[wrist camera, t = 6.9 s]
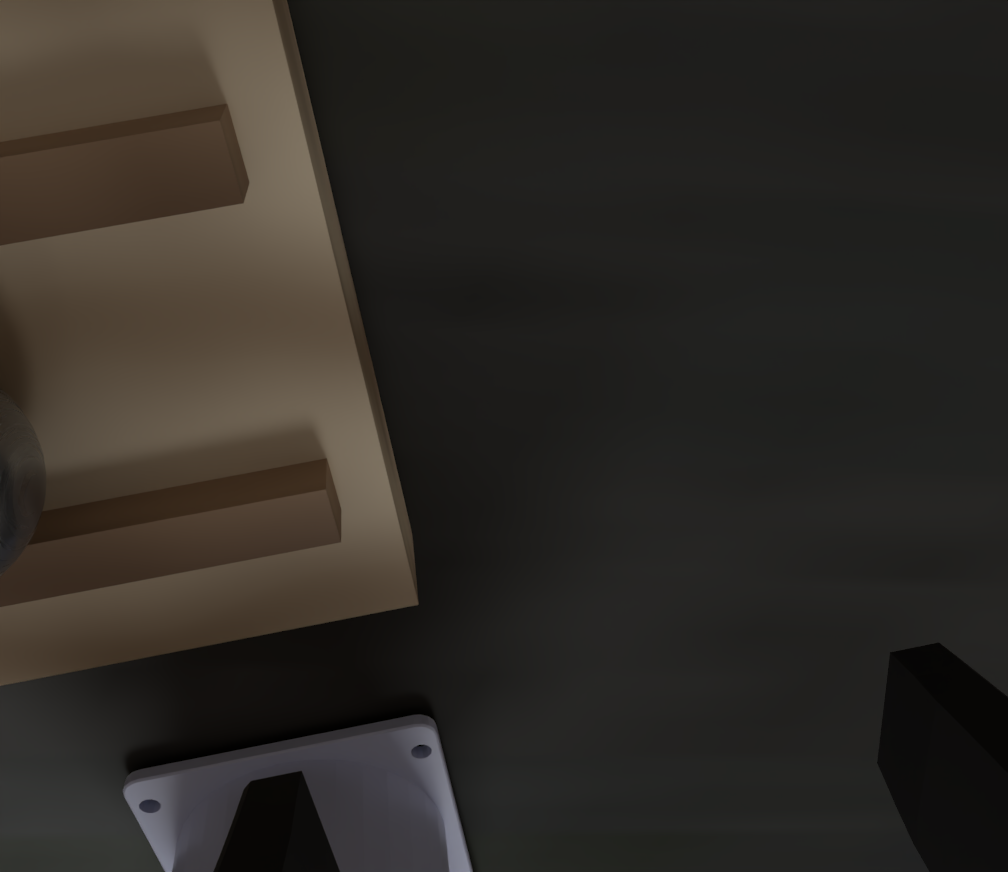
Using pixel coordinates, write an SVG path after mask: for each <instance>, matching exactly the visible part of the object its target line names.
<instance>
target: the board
mask: <svg viewBox="0 0 1008 872" xmlns="http://www.w3.org/2000/svg"><path fill="white" fill-rule="evenodd" d="M0 388H1V389H2V390H3V391H4V392H6V393H7V394H8V395H9V396H10V397H11V399H12V400H13V401H14V402H15V403H16V404H17V405H18V406H19V407H20V408H21V410H22V411H23V413H24V414H25V416H26V417H27V419H28V420H29V422H30V423H31V425H32V426H33V429H34V431H35V433H36V435H37V438H38V440H39V443H40V445H41V448H42V452H43V456H44V461H45V469H46V495H45V502H44V506H43V510H42V514H41V516H40V519H39V522H38V525H37V527H36V530H35V532H34V534H33V536H32V538H31V540H30V541H29V543H28V544H27V546H26V547H25V549H24V550H23V552H22V553H21V555H20V556H19V557H18V559H17V560H16V561H15V562H14V563H13V564H12V565H11V566H10V567H9V568H8V569H7V570H6V571H5V572H4V573H3V574H2V575H1V576H0V686H2V685H7V684H12V683H18V682H23V681H28V680H33V679H38V678H43V677H48V676H54V675H59V674H64V673H69V672H74V671H79V670H85V669H90V668H95V667H100V666H105V665H110V664H115V663H121V662H126V661H131V660H136V659H141V658H146V657H152V656H157V655H162V654H167V653H172V652H177V651H182V650H188V649H193V648H198V647H203V646H208V645H213V644H219V643H224V642H229V641H234V640H239V639H244V638H250V637H255V636H260V635H265V634H270V633H275V632H280V631H286V630H291V629H296V628H301V627H306V626H311V625H317V624H322V623H327V622H332V621H337V620H342V619H347V618H353V617H358V616H363V615H368V614H373V613H378V612H384V611H389V610H394V609H399V608H404V607H409V606H414V605H419V603H418V592H417V581H416V570H415V559H414V548H413V537H412V531H411V526H410V522H409V518H408V514H407V509H406V505H405V501H404V497H403V492H402V488H401V484H400V480H399V475H398V471H397V467H396V463H395V458H394V454H393V450H392V446H391V441H390V437H389V433H388V429H387V424H386V420H385V416H384V412H383V407H382V403H381V399H380V395H379V390H378V386H377V382H376V377H375V373H374V369H373V365H372V360H371V356H370V352H369V348H368V343H367V339H366V335H365V331H364V326H363V322H362V318H361V314H360V309H359V305H358V301H357V297H356V292H355V288H354V284H353V280H352V275H351V271H350V267H349V263H348V258H347V254H346V250H345V246H344V241H343V237H342V233H341V229H340V224H339V220H338V216H337V211H336V207H335V203H334V199H333V194H332V190H331V186H330V182H329V177H328V173H327V169H326V165H325V160H324V156H323V152H322V148H321V143H320V139H319V135H318V131H317V126H316V122H315V118H314V114H313V109H312V105H311V101H310V97H309V92H308V88H307V84H306V80H305V75H304V71H303V67H302V62H301V58H300V54H299V50H298V45H297V41H296V37H295V33H294V28H293V24H292V20H291V16H290V11H289V7H288V3H287V0H0Z"/></svg>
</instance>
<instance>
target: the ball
mask: <svg viewBox="0 0 1008 872" xmlns="http://www.w3.org/2000/svg"><path fill="white" fill-rule="evenodd" d="M45 495H46V469H45V461H44V456H43V452H42V448H41V445H40V443H39V440H38V438H37V435H36V433H35V431H34V429H33V426H32V425H31V423H30V422H29V420H28V419H27V417H26V416H25V414H24V413H23V411H22V410H21V408H20V407H19V406H18V405H17V404H16V403H15V402H14V401H13V400H12V399H11V397H10V396H9V395H8V394H7V393H6V392H4V391H3V390H2V389H1V388H0V576H1V575H2V574H3V573H4V572H5V571H6V570H7V569H8V568H9V567H10V566H11V565H12V564H13V563H14V562H15V561H16V560H17V559H18V557H19V556H20V555H21V553H22V552H23V550H24V549H25V547H26V546H27V544H28V543H29V541H30V540H31V538H32V536H33V534H34V532H35V530H36V527H37V525H38V522H39V519H40V516H41V514H42V510H43V506H44V502H45Z"/></svg>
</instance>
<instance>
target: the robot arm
mask: <svg viewBox="0 0 1008 872" xmlns="http://www.w3.org/2000/svg"><path fill="white" fill-rule="evenodd" d="M418 745H424V746H418ZM877 763H878V765H879V768H880V770H881V772H882V775H883V777H884V779H885V782H886V784H887V786H888V788H889V791H890V793H891V795H892V798H893V800H894V802H895V805H896V807H897V809H898V811H899V813H900V816H901V818H902V820H903V822H904V824H905V826H906V828H907V831H908V833H909V835H910V837H911V839H912V841H913V844H914V845H915V847H916V849H917V851H918V852H919V854H920V856H921V858H922V859H923V861H924V863H925V865H926V866H927V868H928V870H929V871H930V872H1008V697H1007V696H1006V695H1005V694H1003V693H1002V692H1001V691H1000V690H998V689H997V688H996V687H995V686H993V685H992V684H991V683H990V682H988V681H987V680H986V679H985V678H983V677H982V676H981V675H980V674H978V673H977V672H976V671H975V670H973V669H972V668H971V667H970V666H968V665H967V664H966V663H964V662H963V661H962V660H961V659H959V658H958V657H957V656H956V655H954V654H953V653H952V652H950V651H949V650H948V649H947V648H945V647H944V646H943V645H941V644H940V643H935V644H930V645H925V646H920V647H915V648H910V649H905V650H900V651H895V652H890V659H889V668H888V676H887V685H886V693H885V702H884V711H883V719H882V728H881V736H880V745H879V753H878V762H877ZM123 794H124V797H125V799H126V801H127V803H128V804H129V806H130V808H131V810H132V812H133V814H134V816H135V817H136V819H137V821H138V823H139V825H140V827H141V828H142V830H143V832H144V834H145V836H146V838H147V839H148V841H149V843H150V845H151V847H152V849H153V850H154V852H155V854H156V856H157V858H158V860H159V861H160V863H161V865H162V867H163V869H164V871H165V872H473V868H472V864H471V860H470V856H469V853H468V849H467V845H466V841H465V837H464V833H463V829H462V825H461V821H460V817H459V813H458V809H457V805H456V801H455V797H454V793H453V789H452V785H451V781H450V777H449V773H448V769H447V765H446V761H445V757H444V753H443V749H442V745H441V742H440V738H439V734H438V730H437V726H436V723H435V721H434V720H433V719H432V718H430V717H429V716H425V715H421V714H420V715H411V716H406V717H401V718H396V719H391V720H386V721H380V722H375V723H370V724H365V725H360V726H355V727H350V728H345V729H340V730H335V731H330V732H325V733H320V734H315V735H310V736H305V737H300V738H295V739H290V740H285V741H280V742H275V743H270V744H265V745H260V746H255V747H250V748H245V749H240V750H235V751H230V752H225V753H220V754H215V755H210V756H205V757H200V758H195V759H190V760H185V761H179V762H174V763H169V764H164V765H159V766H154V767H149V768H144V769H140V770H137V771H134V772H132V773H131V774H129V775H128V776H127V778H126V780H125V784H124V788H123ZM149 799H153V800H149Z"/></svg>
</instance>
